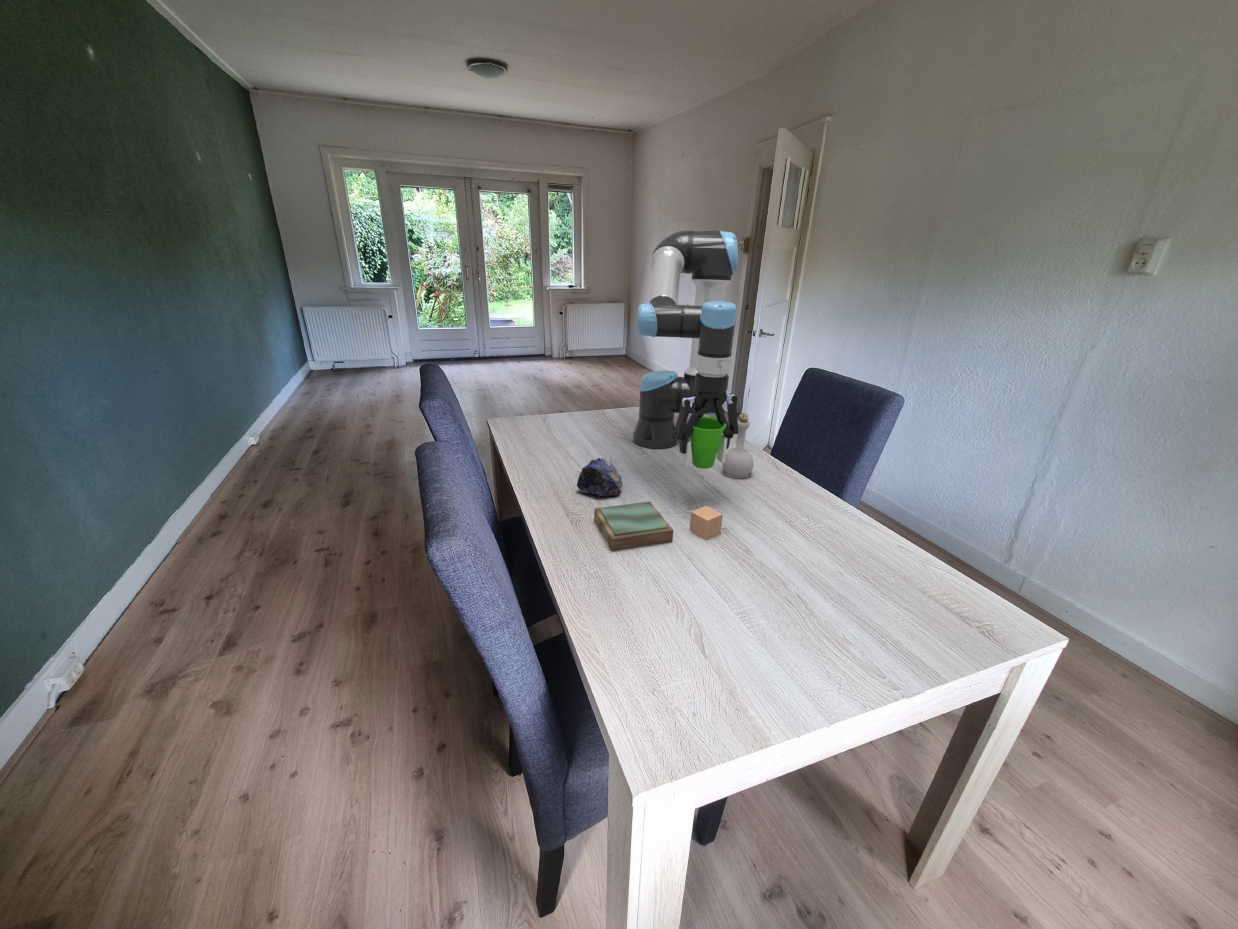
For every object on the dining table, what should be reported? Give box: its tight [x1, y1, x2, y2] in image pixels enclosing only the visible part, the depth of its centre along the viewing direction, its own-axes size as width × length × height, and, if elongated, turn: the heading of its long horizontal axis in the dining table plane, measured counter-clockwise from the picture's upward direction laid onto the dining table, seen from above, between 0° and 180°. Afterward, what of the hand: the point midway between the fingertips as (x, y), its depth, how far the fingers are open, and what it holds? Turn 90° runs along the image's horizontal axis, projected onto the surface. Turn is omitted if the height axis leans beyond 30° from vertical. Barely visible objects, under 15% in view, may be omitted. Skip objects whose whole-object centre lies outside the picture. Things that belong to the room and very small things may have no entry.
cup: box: [690, 416, 726, 470], centre depth 120 cm, size 9×9×11 cm
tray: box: [593, 500, 674, 552], centre depth 112 cm, size 14×14×3 cm
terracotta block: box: [689, 505, 724, 541], centre depth 112 cm, size 5×5×5 cm
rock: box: [576, 457, 624, 497], centre depth 129 cm, size 11×10×10 cm
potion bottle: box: [721, 412, 755, 479], centre depth 140 cm, size 9×9×18 cm
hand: (702, 462), depth 122 cm, fingers closed on cup, 9 cm apart
